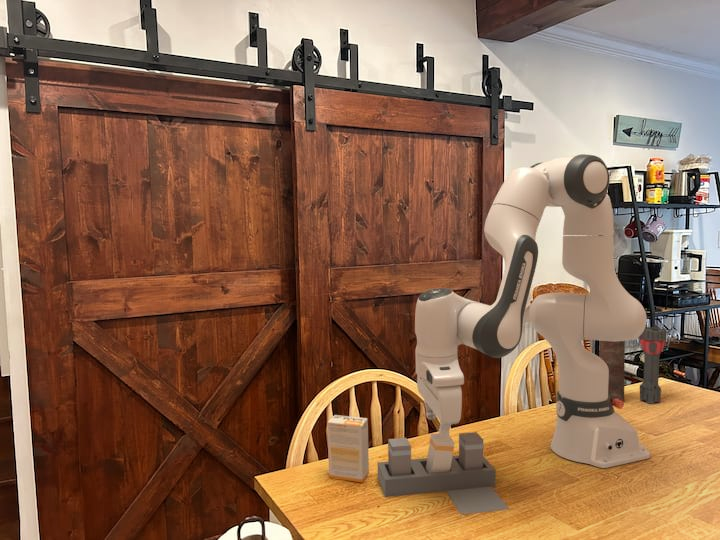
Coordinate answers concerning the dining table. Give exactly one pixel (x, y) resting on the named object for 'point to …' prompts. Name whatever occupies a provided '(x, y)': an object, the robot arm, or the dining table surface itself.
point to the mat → (476, 500)
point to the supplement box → (348, 448)
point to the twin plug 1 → (399, 457)
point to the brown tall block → (614, 366)
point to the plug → (439, 454)
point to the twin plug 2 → (470, 451)
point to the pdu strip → (435, 478)
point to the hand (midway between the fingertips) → (437, 427)
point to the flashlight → (651, 363)
